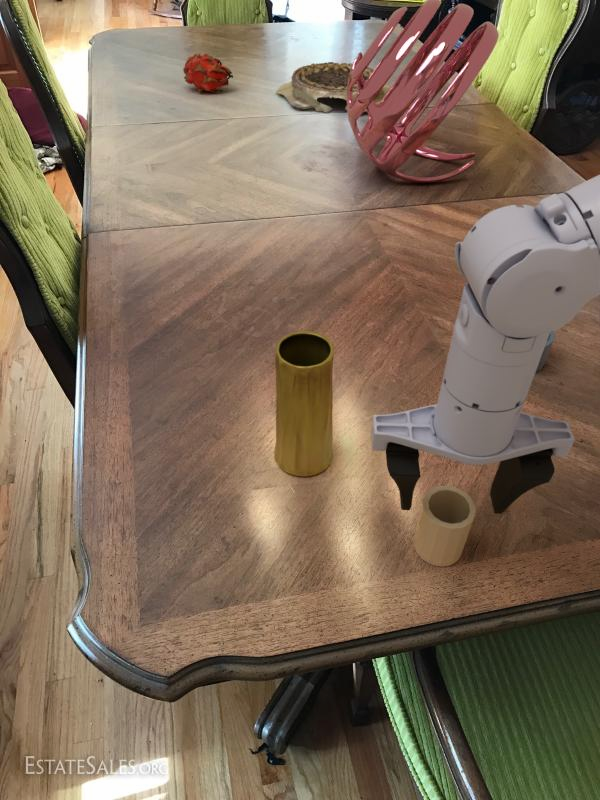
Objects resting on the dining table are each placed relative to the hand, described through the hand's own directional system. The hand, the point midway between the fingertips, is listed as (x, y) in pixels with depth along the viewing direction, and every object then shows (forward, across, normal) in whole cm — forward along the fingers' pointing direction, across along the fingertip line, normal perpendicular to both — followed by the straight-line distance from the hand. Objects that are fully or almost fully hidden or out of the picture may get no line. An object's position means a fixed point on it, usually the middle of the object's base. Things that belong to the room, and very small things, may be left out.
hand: (450, 502), depth 52 cm
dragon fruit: (+7, +39, -123) cm, 129 cm away
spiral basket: (+7, -4, -82) cm, 83 cm away
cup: (+6, 0, 0) cm, 6 cm away
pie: (+7, +9, -121) cm, 122 cm away
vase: (+7, +13, -10) cm, 18 cm away
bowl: (+6, -13, -28) cm, 31 cm away
